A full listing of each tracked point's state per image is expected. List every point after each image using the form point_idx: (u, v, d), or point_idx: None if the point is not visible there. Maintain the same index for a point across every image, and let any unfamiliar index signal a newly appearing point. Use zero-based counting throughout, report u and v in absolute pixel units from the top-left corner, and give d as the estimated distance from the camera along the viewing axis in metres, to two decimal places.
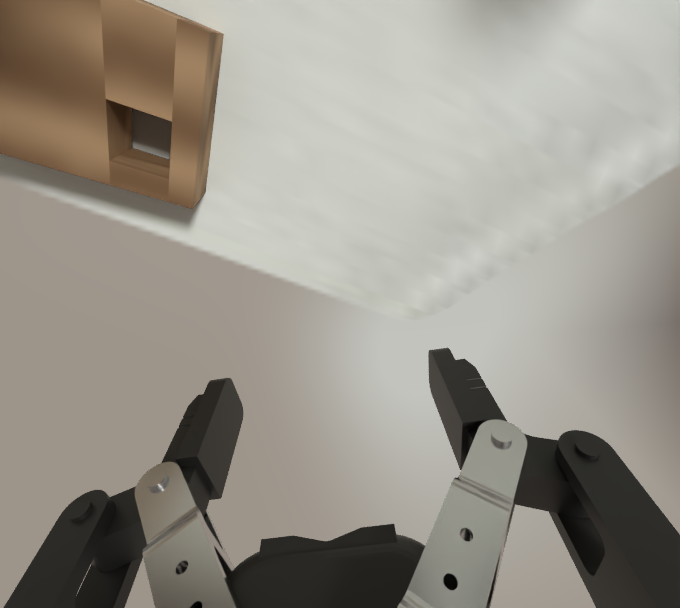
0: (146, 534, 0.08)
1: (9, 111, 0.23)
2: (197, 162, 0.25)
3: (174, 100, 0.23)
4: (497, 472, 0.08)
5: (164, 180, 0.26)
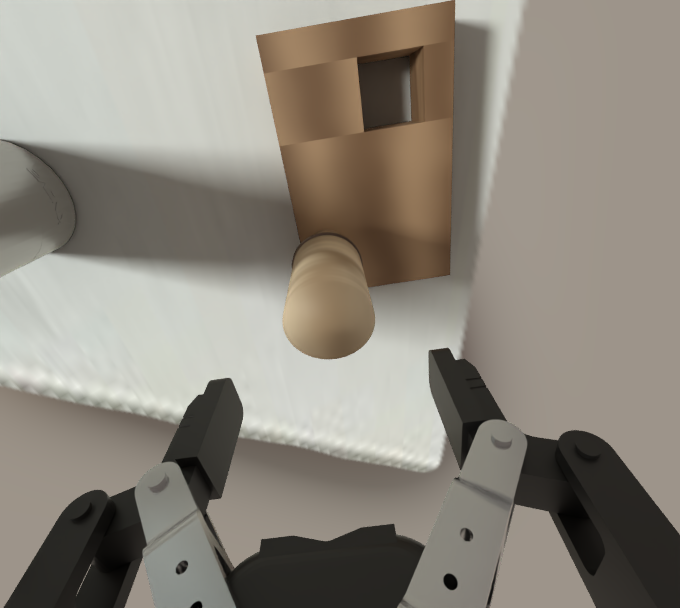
0: (146, 534, 0.08)
1: (409, 212, 0.26)
2: None
3: (334, 59, 0.21)
4: (498, 472, 0.08)
5: (427, 51, 0.21)
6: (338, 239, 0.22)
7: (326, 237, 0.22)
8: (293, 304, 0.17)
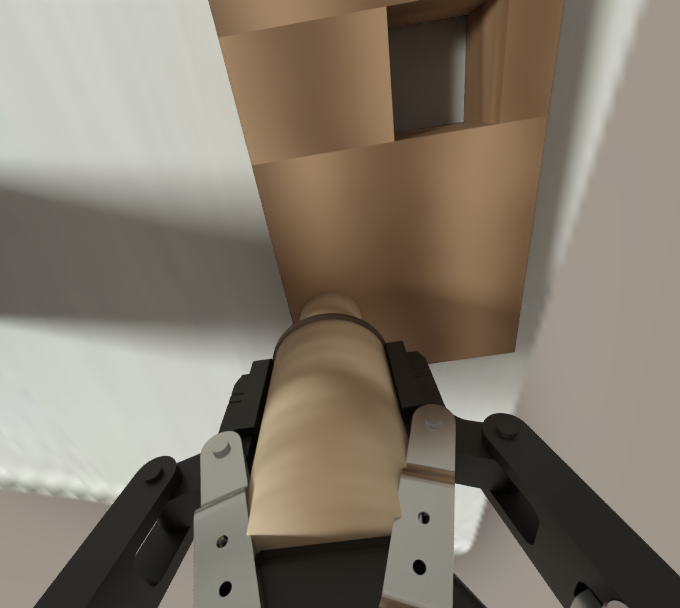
0: (202, 496, 0.09)
1: (461, 266, 0.16)
2: None
3: (345, 10, 0.11)
4: (437, 452, 0.09)
5: None
6: (350, 330, 0.12)
7: (330, 327, 0.13)
8: None
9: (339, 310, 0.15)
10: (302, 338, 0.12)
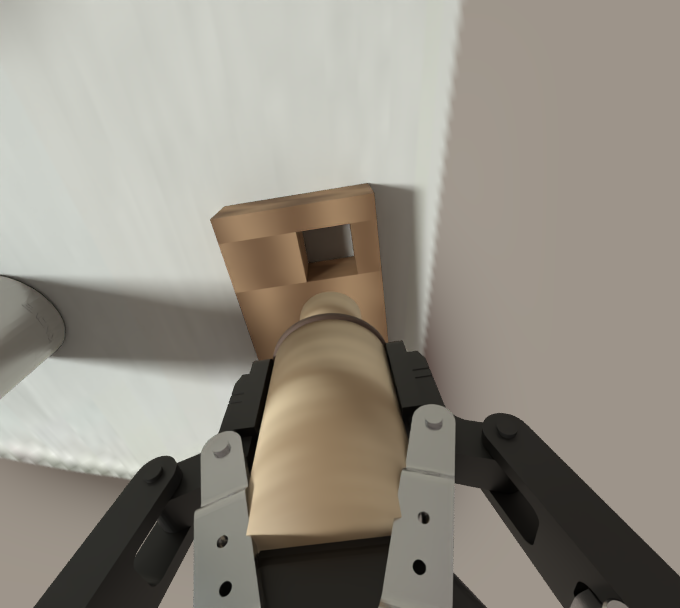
0: (202, 495, 0.09)
1: None
2: (321, 201, 0.24)
3: (277, 233, 0.25)
4: (437, 452, 0.09)
5: (355, 226, 0.25)
6: (350, 330, 0.12)
7: (330, 327, 0.13)
8: None
9: (339, 310, 0.15)
10: (302, 338, 0.12)
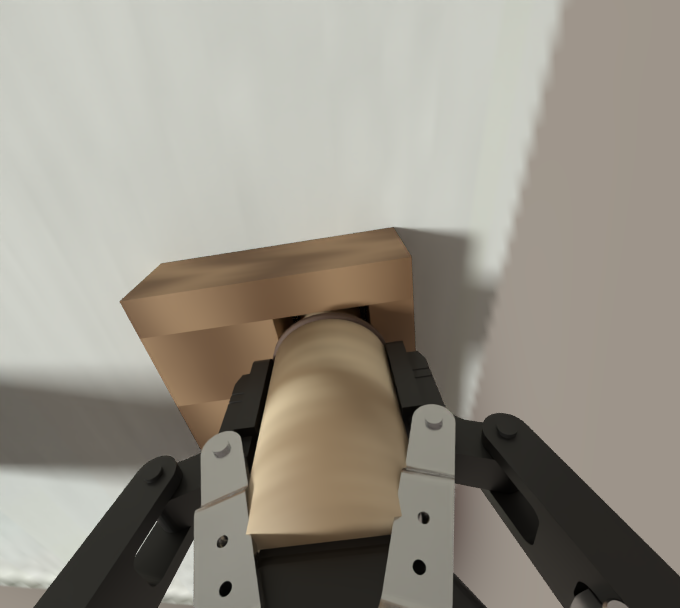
0: (202, 495, 0.09)
1: None
2: (316, 270, 0.13)
3: (240, 322, 0.14)
4: (437, 452, 0.09)
5: (375, 310, 0.14)
6: (350, 330, 0.13)
7: (330, 326, 0.13)
8: None
9: (339, 309, 0.15)
10: (302, 338, 0.12)
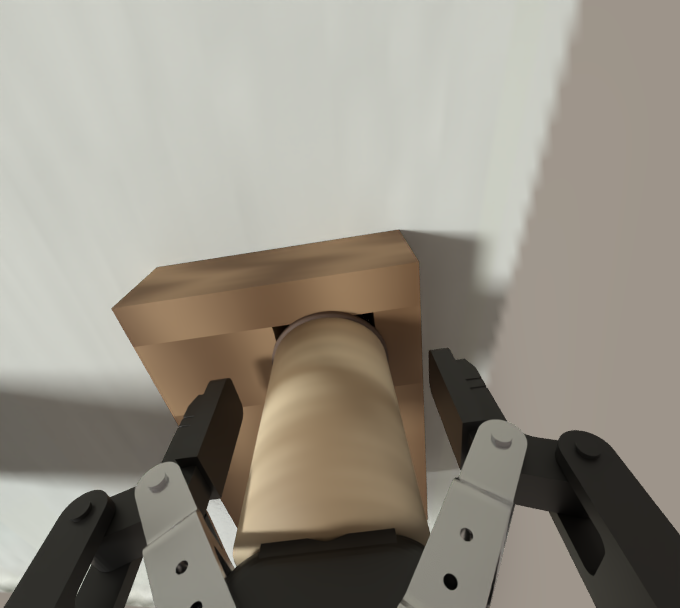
0: (146, 535, 0.08)
1: None
2: (318, 276, 0.13)
3: (238, 329, 0.14)
4: (497, 472, 0.08)
5: (380, 317, 0.14)
6: (348, 328, 0.13)
7: (329, 325, 0.13)
8: (253, 535, 0.07)
9: None
10: (301, 336, 0.12)
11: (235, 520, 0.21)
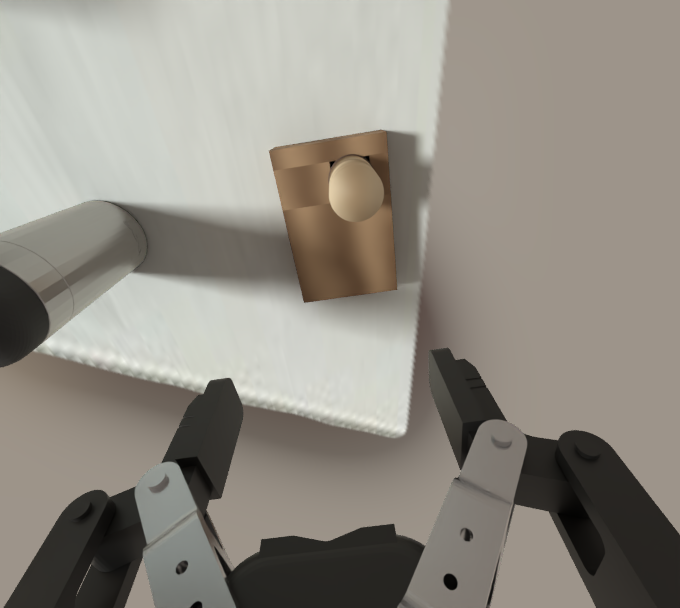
0: (146, 534, 0.08)
1: (366, 249, 0.39)
2: (348, 137, 0.34)
3: (315, 162, 0.35)
4: (497, 472, 0.08)
5: (372, 158, 0.34)
6: (359, 157, 0.33)
7: (352, 156, 0.34)
8: (335, 181, 0.28)
9: None
10: (342, 159, 0.33)
11: (301, 285, 0.42)
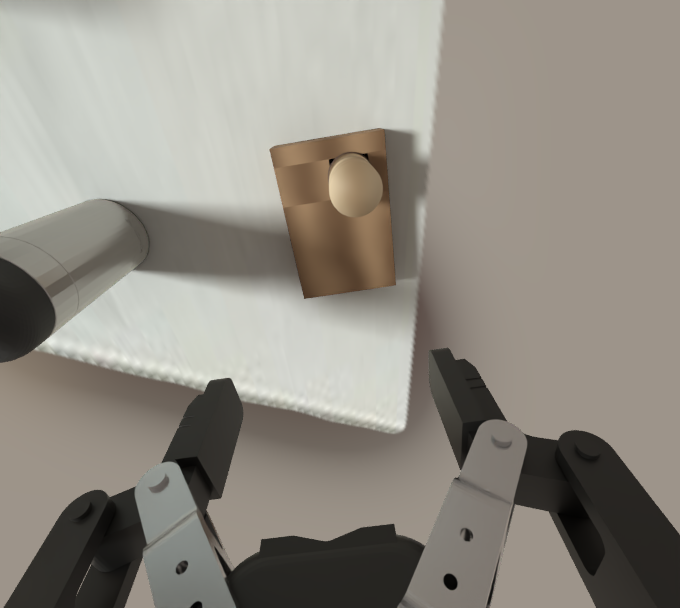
0: (146, 535, 0.08)
1: (365, 246, 0.40)
2: (347, 135, 0.34)
3: (315, 160, 0.35)
4: (497, 472, 0.08)
5: (370, 155, 0.35)
6: (358, 154, 0.34)
7: (351, 153, 0.34)
8: (335, 177, 0.29)
9: None
10: (341, 156, 0.34)
11: (301, 281, 0.42)
